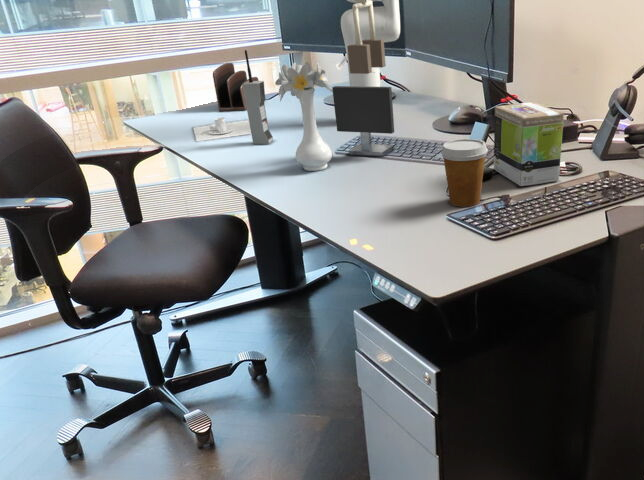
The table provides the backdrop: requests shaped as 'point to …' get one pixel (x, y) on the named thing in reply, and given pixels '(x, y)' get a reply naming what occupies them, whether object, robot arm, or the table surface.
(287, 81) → the flower vase
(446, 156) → the disposable coffee cup
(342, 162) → the table surface
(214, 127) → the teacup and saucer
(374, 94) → the monitor
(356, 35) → the headphones
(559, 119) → the tea box
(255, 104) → the vintage mobile phone
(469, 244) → the table surface
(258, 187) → the table surface
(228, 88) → the letter holder
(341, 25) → the robot arm
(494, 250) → the table surface
